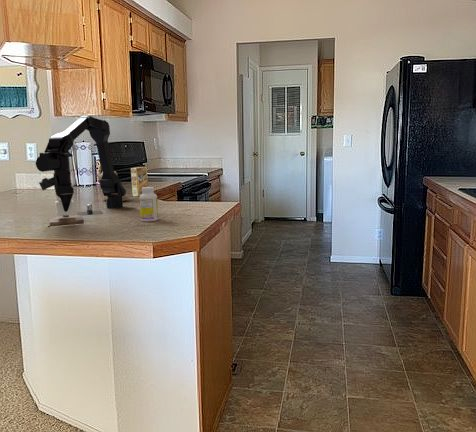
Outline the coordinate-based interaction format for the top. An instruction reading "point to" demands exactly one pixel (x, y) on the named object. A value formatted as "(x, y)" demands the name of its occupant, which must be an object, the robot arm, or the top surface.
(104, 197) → the stone cup
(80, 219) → the hub
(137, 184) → the candy box
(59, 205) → the collar
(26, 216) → the top surface
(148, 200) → the supplement bottle
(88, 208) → the stand
